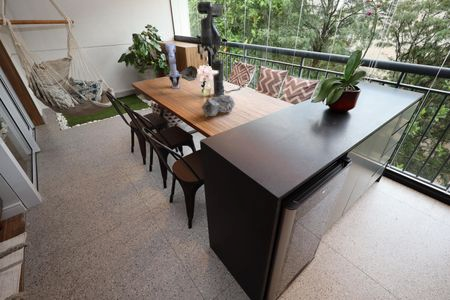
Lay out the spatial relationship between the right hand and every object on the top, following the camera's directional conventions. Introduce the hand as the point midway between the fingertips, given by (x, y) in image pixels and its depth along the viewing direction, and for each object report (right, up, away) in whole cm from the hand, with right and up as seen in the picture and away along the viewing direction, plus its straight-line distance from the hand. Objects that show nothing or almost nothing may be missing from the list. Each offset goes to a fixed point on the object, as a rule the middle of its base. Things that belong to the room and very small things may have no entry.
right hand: (207, 59), depth 155 cm
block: (-37, -4, +51) cm, 63 cm away
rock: (+9, -40, +12) cm, 42 cm away
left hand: (-37, -3, +51) cm, 63 cm away
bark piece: (-34, +24, +107) cm, 115 cm away
